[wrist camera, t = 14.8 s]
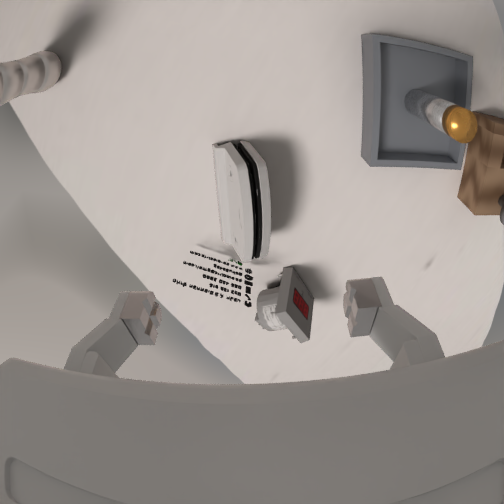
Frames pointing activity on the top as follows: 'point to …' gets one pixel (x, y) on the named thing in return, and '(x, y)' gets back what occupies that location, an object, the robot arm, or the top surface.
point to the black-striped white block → (243, 199)
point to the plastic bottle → (28, 75)
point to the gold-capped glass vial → (442, 115)
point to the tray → (393, 108)
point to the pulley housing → (485, 168)
